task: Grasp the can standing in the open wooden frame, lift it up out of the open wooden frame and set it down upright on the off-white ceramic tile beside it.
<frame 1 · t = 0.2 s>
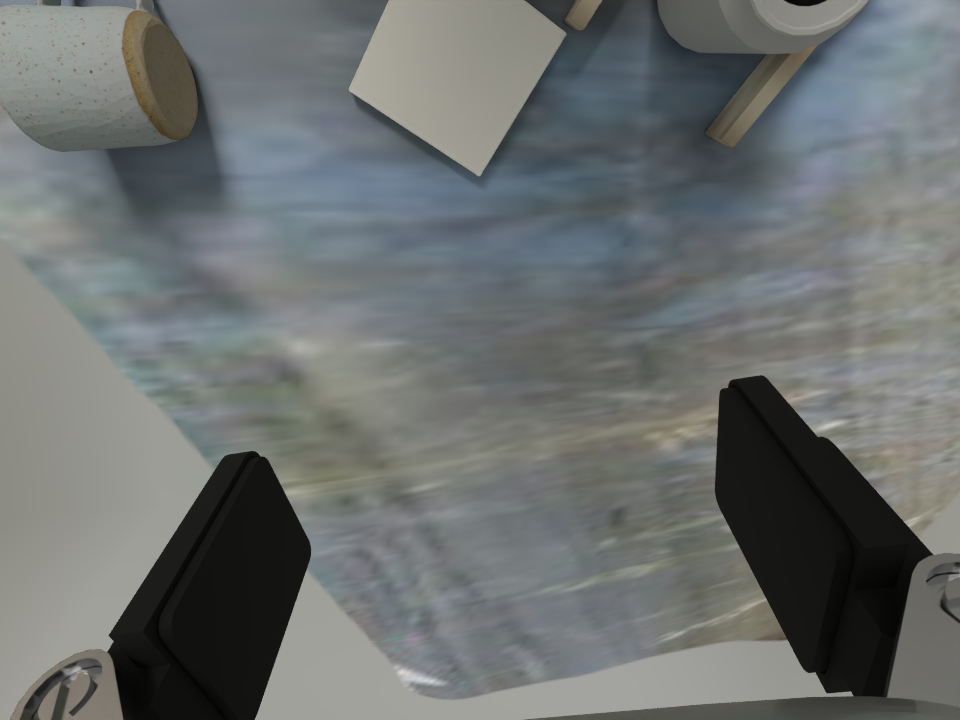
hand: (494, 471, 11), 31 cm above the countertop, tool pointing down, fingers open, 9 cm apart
ceramic mug: (129, 54, 34), on the countertop
tile: (455, 62, 34), on the countertop
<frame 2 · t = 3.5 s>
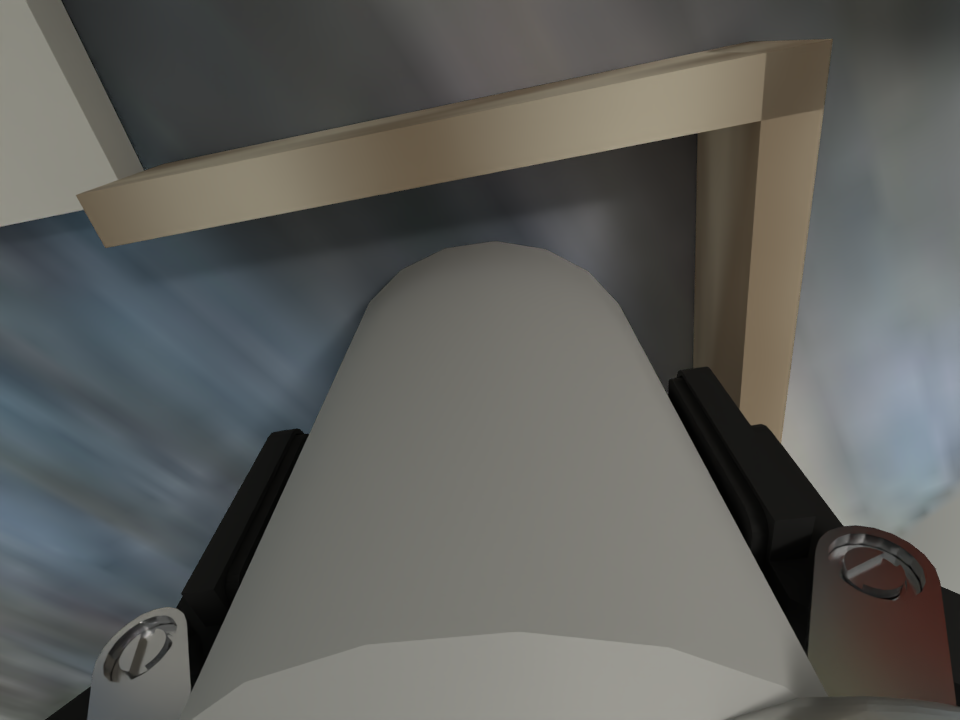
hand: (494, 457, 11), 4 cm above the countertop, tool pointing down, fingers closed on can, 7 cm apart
can: (491, 358, 15), on the countertop, touching gripper
open wooden frame: (491, 360, 15), on the countertop
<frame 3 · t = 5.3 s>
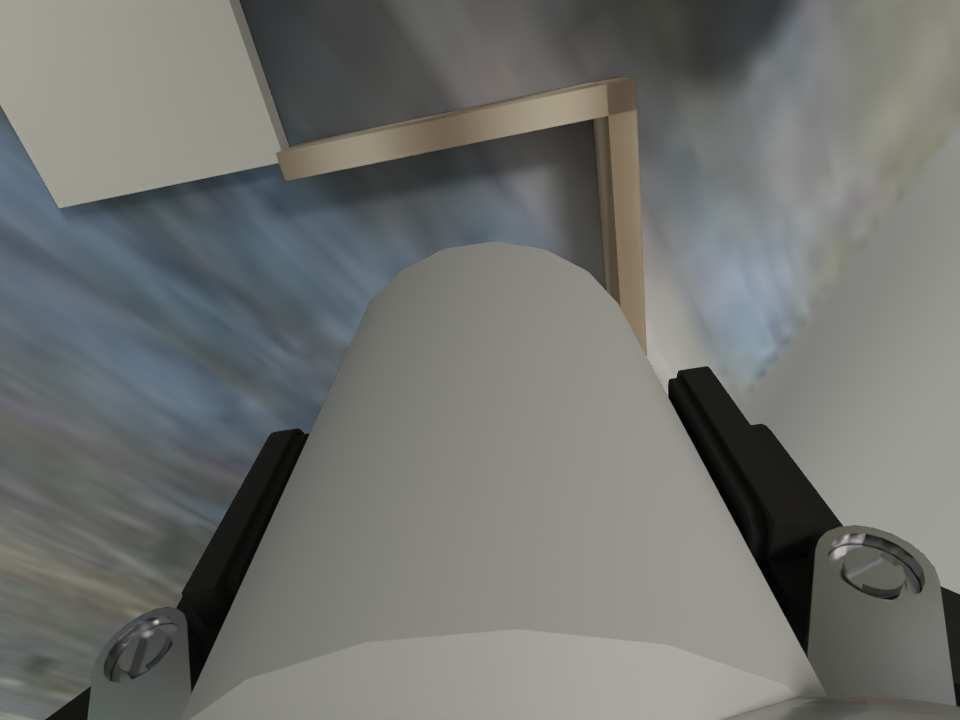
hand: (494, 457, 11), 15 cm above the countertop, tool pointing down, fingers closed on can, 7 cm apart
tile: (122, 47, 20), on the countertop
can: (491, 358, 15), point 10 cm above the countertop, touching gripper
open wooden frame: (483, 263, 24), on the countertop
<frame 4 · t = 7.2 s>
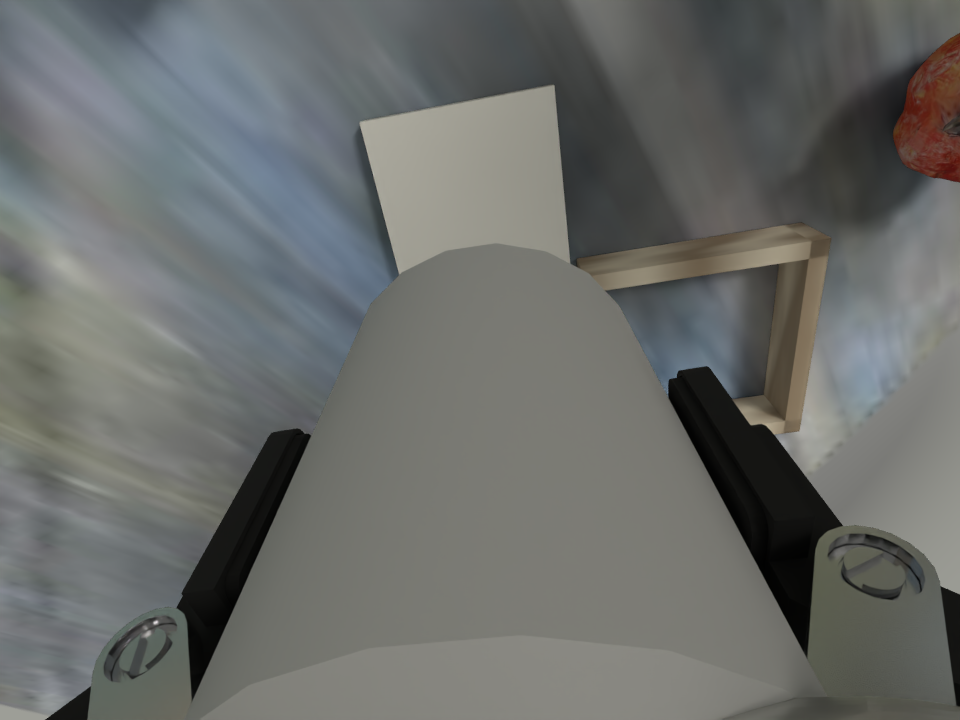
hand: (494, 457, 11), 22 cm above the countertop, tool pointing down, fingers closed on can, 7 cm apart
tile: (472, 199, 30), on the countertop
can: (492, 360, 15), point 18 cm above the countertop, touching gripper
red tomato: (942, 96, 27), on the countertop
open wooden frame: (684, 337, 34), on the countertop
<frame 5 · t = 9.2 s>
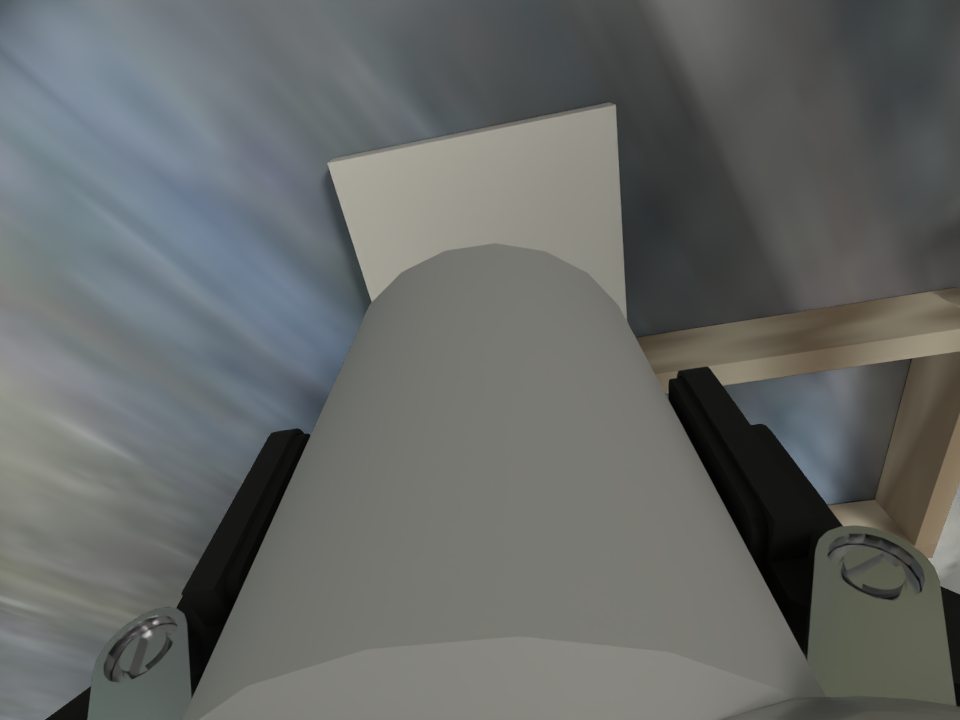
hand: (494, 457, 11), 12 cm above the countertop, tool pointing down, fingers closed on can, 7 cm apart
tile: (492, 262, 21), on the countertop
can: (492, 360, 15), point 8 cm above the countertop, touching gripper
open wooden frame: (775, 432, 26), on the countertop
when the fingers open (6 cm above the countertop, at t = 10.9 s): can drops 1 cm, resting on tile.
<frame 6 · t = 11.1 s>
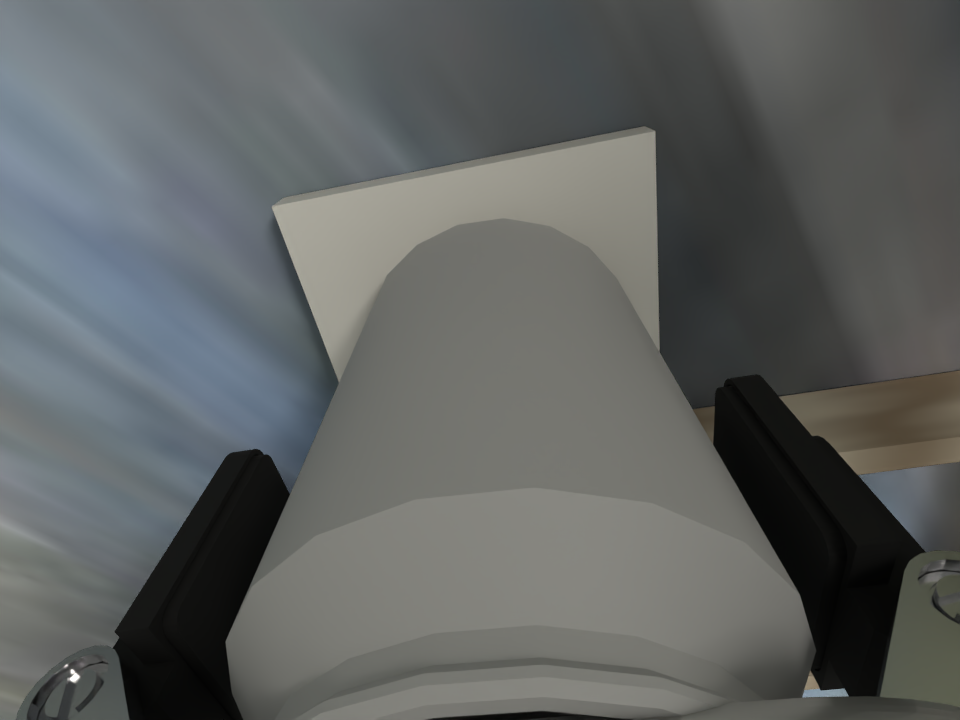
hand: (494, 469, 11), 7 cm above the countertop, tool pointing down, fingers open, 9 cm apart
tile: (490, 325, 17), on the countertop
can: (498, 331, 16), point 1 cm above the countertop, touching tile
open wooden frame: (834, 519, 21), on the countertop
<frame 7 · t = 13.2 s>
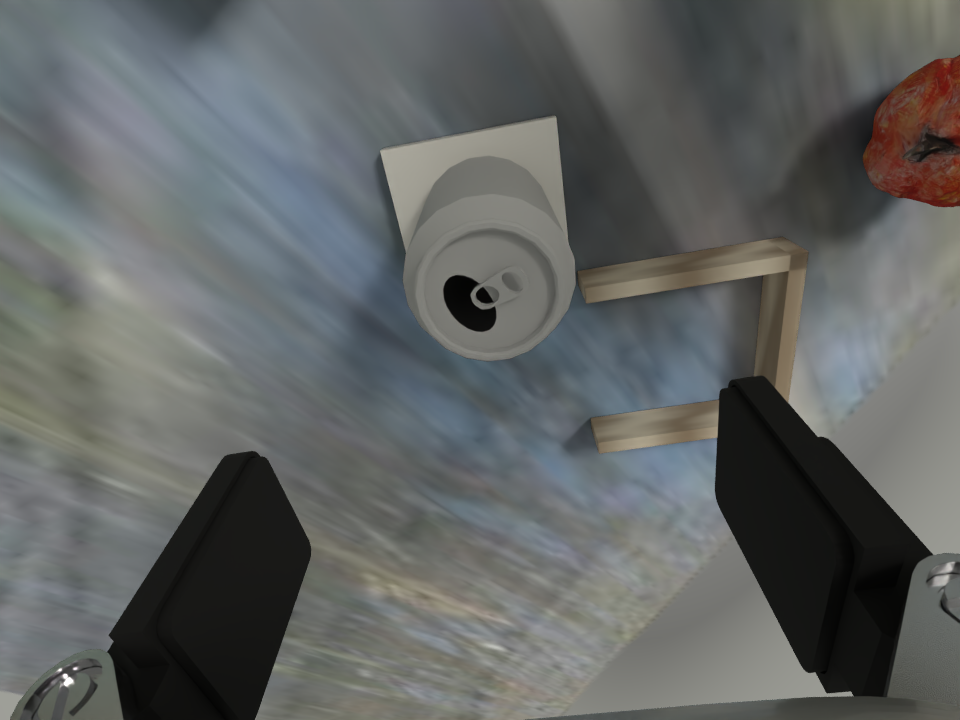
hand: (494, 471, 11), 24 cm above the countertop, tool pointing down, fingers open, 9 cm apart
tile: (482, 217, 33), on the countertop
can: (486, 218, 32), point 1 cm above the countertop, touching tile
red tomato: (907, 123, 30), on the countertop
open wooden frame: (677, 342, 37), on the countertop
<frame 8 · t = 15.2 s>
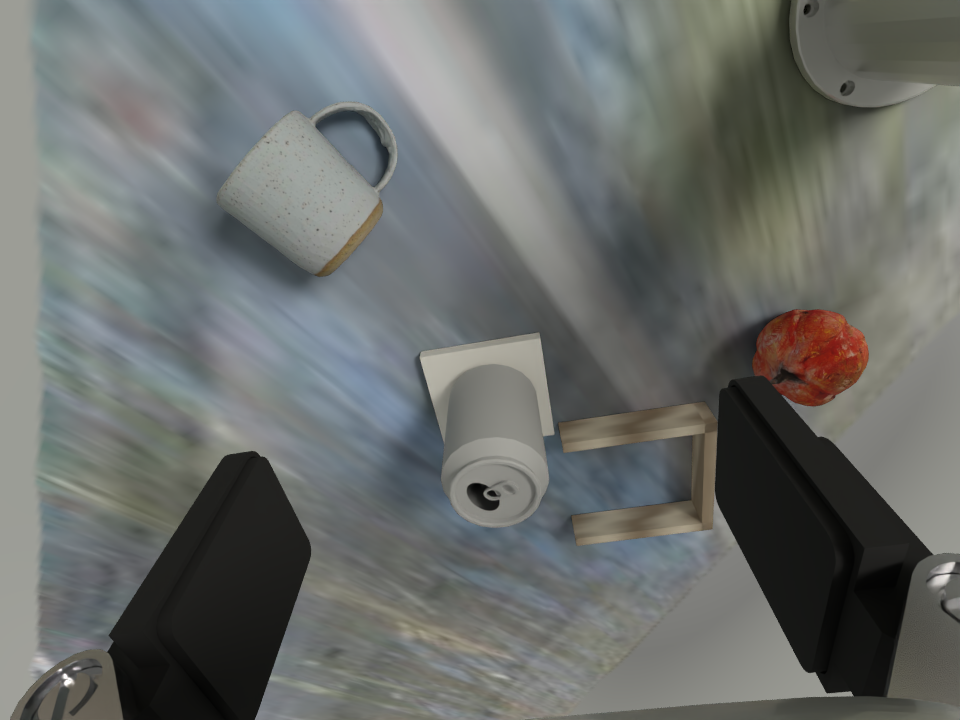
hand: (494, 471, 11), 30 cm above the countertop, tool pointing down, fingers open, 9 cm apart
ceramic mug: (330, 170, 37), on the countertop
tile: (490, 391, 46), on the countertop
can: (492, 394, 45), point 1 cm above the countertop, touching tile
red tomato: (785, 334, 44), on the countertop
open wooden frame: (633, 466, 51), on the countertop
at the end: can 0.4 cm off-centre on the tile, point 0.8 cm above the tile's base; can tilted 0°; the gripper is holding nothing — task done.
